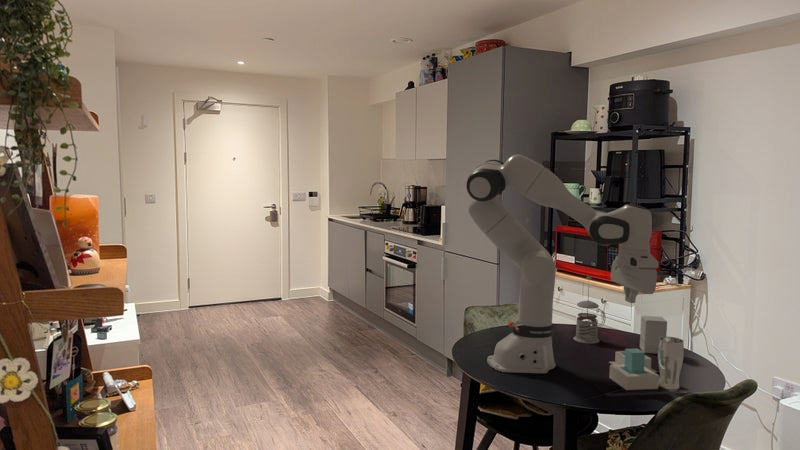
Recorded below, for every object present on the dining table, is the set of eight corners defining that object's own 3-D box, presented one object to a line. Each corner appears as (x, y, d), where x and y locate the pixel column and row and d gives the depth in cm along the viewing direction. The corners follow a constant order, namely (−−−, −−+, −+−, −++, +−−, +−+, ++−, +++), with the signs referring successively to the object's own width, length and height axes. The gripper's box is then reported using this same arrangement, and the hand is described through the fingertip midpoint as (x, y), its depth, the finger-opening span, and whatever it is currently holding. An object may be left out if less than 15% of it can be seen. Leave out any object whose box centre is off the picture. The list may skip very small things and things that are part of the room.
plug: (630, 385, 167) (632, 353, 166) (623, 380, 171) (625, 348, 170) (643, 385, 167) (644, 352, 166) (635, 380, 171) (637, 348, 170)
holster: (625, 375, 178) (626, 361, 177) (608, 364, 188) (609, 350, 188) (657, 374, 179) (658, 360, 179) (638, 363, 190) (639, 349, 190)
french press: (570, 335, 222) (572, 273, 219) (599, 336, 221) (602, 274, 219) (576, 343, 212) (579, 278, 210) (607, 343, 211) (611, 278, 209)
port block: (626, 393, 163) (627, 376, 163) (609, 380, 173) (609, 365, 173) (658, 391, 165) (658, 375, 164) (639, 379, 174) (639, 363, 174)
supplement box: (665, 356, 198) (667, 321, 196) (643, 354, 199) (645, 320, 198) (660, 350, 205) (662, 316, 204) (639, 348, 206) (640, 315, 205)
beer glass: (673, 383, 171) (676, 336, 170) (686, 392, 164) (689, 343, 163) (651, 383, 171) (654, 336, 170) (662, 392, 164) (665, 343, 163)
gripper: (607, 252, 180) (604, 294, 181) (641, 263, 160) (637, 310, 161) (625, 252, 181) (622, 294, 182) (662, 263, 161) (658, 310, 162)
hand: (630, 302), depth 172 cm, fingers closed
